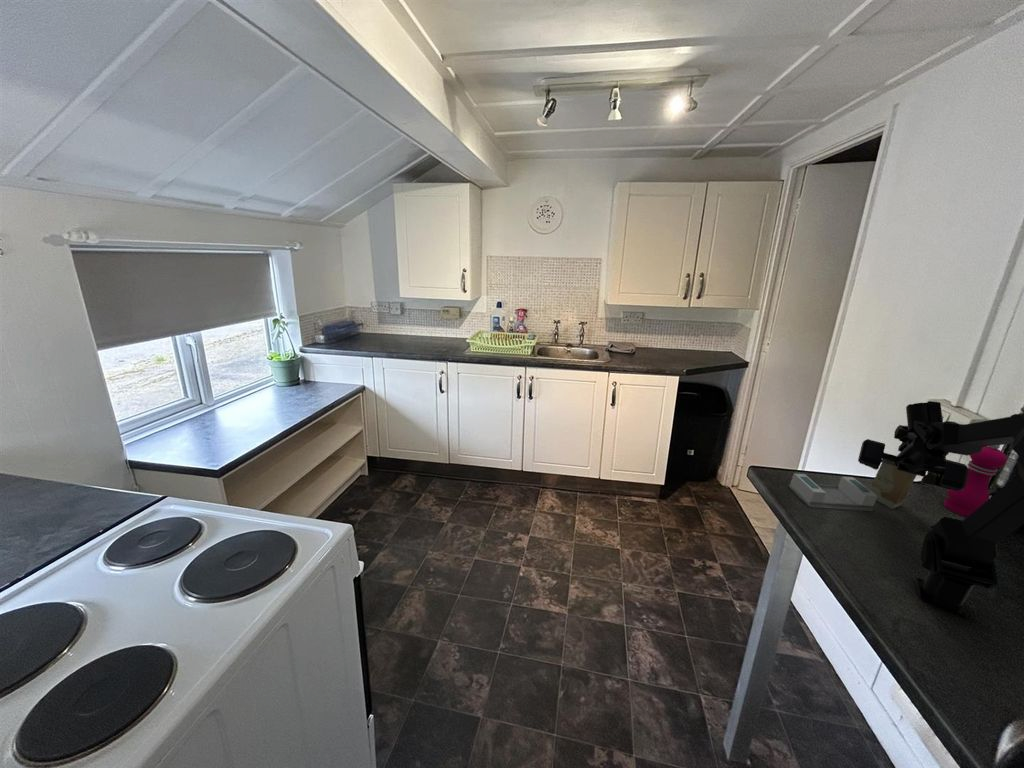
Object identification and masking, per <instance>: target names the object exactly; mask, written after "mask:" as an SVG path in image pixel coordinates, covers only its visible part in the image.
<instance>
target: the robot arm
mask: <svg viewBox="0 0 1024 768" xmlns="http://www.w3.org/2000/svg"><path fill="white" fill-rule="evenodd" d="M905 409H906V419H907V420H906V421H907V423H906V424H907V425H903V424H902V425H901V424H899V425H898V426H896V428H895V430H894V436H893V437H894V439H895V440H898V441H899V442H901V444H900V445H899V446H898V450H897V452H900V453H898V455H894V454H891V453H888V452H885V449H886V444H885V443H884V442H880V441H876V440H872V439H869V438H867V439H865V440H863V441H862V443H861V447H860V451H859V455H858V459H857V461H858V462H859V464H860V465H864V466H866V467H869V468H870V469H873V470H875V471H876V470H877V471H878V470H879V468H880V466H881V464H882V463H885V464H889V465H893V466H896V467H897V470H901V471H905V472H908V473H912V474H915V475H917V476H919V477H922V478H921V479H920V481H921V482H920V483H921V484H925V485H929V486H933V487H936V488H937V487H939V488H941V489H942V488H943V489H946V490H948V489H951V490H955V491H960V490H962V489H964V488H965V486H966V483H967V477H968V471H969V469H968V468H969V467H968V466H967V464H964V463H962V462H958V461H953V460H950V459H947V456H948V455H949V453H950V454H955V455H956V454H957V455H962V456H970V455H972V454H975V453H978V452H981V451H982V450H983V447H986V446H994V445H1000V446H1003V445H1012V446H1011V449H1012V451H1014V452H1015V453H1016V454H1017V455H1018V456H1019V457H1018V458H1017V469H1018V475H1017V476H1016V477H1015V478H1013V479H1012V480H1010V482H1008V483H1007V484H1006V485H1004V487H1002V488H1001V489H999V491H998V492H996V493H995V494H994V495H993V496H991V497H989V500H988V501H986V502H985V503H984V504H983V505H981V506H980V507H979V508H978V509H976V510H975V511H974V512H973V513H972V514H970V515H969V516H968V517H967V516H966V517H965V518H964V519H963V520H962V519H958V518H953V517H948V516H944V517H942V518H940V519H939V520H938V521H937V523H935V524H934V525H930V530H928V532H927V533H926V534H925V536H924V537H923V543H922V547H921V551H920V561H921V564H920V565H921V566H922V568H924V569H926V570H927V571H928V573H927V574H926V577H925V578H924V579H923V578H920V577H917V578H915V583H916V587H917V591H918V596H919V599H920V600H921V601H924V602H927V603H929V604H931V605H933V606H935V607H939V608H941V609H943V610H945V611H948V612H951V613H954V614H956V615H958V616H961V617H963V618H968V616H969V614H968V611H967V609H966V606H965V605H966V604H965V601H966V600H967V599H968V597H969V595H970V593H971V591H972V590H973V588H974V587H975V586H977V587H980V588H985V589H988V590H992V589H994V588H995V587H997V585H998V578H997V572H996V571H997V570H996V565H995V560H996V559H997V558H998V557H999V553H998V546H997V544H998V543H999V542H1001V541H1002V540H1003V539H1005V538H1006V537H1008V536H1009V535H1011V534H1012V533H1013V532H1015V531H1016V530H1018V529H1019V528H1020V527H1022V526H1023V525H1024V413H1014V414H1011V415H1010V416H1005V417H1001V418H1000V417H999V418H994V419H989V420H982V421H978V422H977V421H976V422H972V423H965V424H963V423H962V424H961V423H960V424H959V423H950V422H944V420H943V418H944V417H943V412H942V403H941V402H938V401H934V400H933V401H932V400H928V401H927V402H916V403H910V404H907V405H906V407H905ZM884 459H885V460H884ZM888 460H889V461H888ZM890 461H891V462H890ZM894 462H895V463H894ZM927 472H928V473H927Z"/></svg>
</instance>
